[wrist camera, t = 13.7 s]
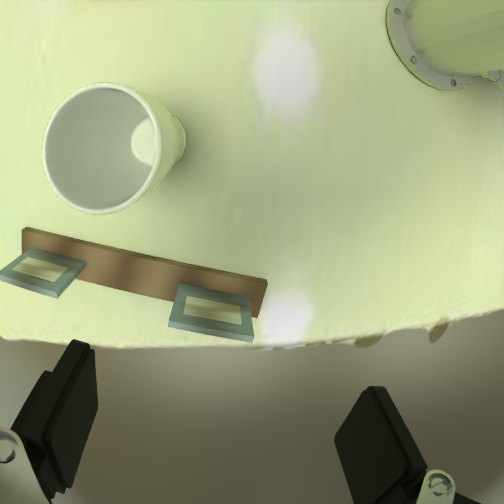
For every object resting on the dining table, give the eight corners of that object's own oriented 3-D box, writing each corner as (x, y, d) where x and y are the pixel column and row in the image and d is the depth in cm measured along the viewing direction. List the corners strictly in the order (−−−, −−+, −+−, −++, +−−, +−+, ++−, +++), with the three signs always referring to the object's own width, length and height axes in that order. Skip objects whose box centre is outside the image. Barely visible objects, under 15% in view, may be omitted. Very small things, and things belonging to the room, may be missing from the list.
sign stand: (266, 280, 33) (277, 322, 26) (256, 313, 34) (264, 360, 27) (26, 227, 29) (-16, 252, 22) (26, 260, 30) (-12, 291, 23)
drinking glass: (193, 177, 29) (162, 218, 15) (123, 177, 28) (42, 217, 14) (197, 104, 27) (167, 75, 13) (125, 106, 26) (41, 88, 12)
